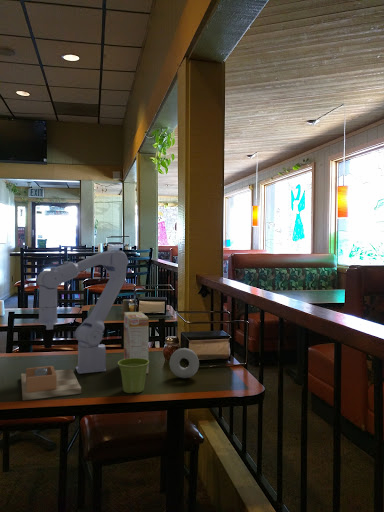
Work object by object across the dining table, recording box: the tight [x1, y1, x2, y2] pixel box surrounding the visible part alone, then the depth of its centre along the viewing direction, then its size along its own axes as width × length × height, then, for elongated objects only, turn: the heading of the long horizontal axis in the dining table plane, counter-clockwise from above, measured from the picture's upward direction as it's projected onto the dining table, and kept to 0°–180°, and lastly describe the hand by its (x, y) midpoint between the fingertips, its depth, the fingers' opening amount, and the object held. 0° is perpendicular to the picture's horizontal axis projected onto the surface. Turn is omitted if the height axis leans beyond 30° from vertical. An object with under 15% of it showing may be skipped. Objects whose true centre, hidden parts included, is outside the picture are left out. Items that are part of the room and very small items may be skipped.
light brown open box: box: [25, 365, 57, 392], centre depth 124 cm, size 8×11×4 cm
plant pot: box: [117, 358, 150, 394], centre depth 125 cm, size 9×9×9 cm
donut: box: [169, 347, 200, 379], centre depth 138 cm, size 10×4×10 cm, turn 85°
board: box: [20, 368, 82, 401], centre depth 129 cm, size 16×22×2 cm
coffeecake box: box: [123, 311, 150, 375], centre depth 149 cm, size 15×7×20 cm, turn 16°
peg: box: [35, 368, 48, 376], centre depth 125 cm, size 4×4×6 cm
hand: (47, 347), depth 137 cm, fingers closed
